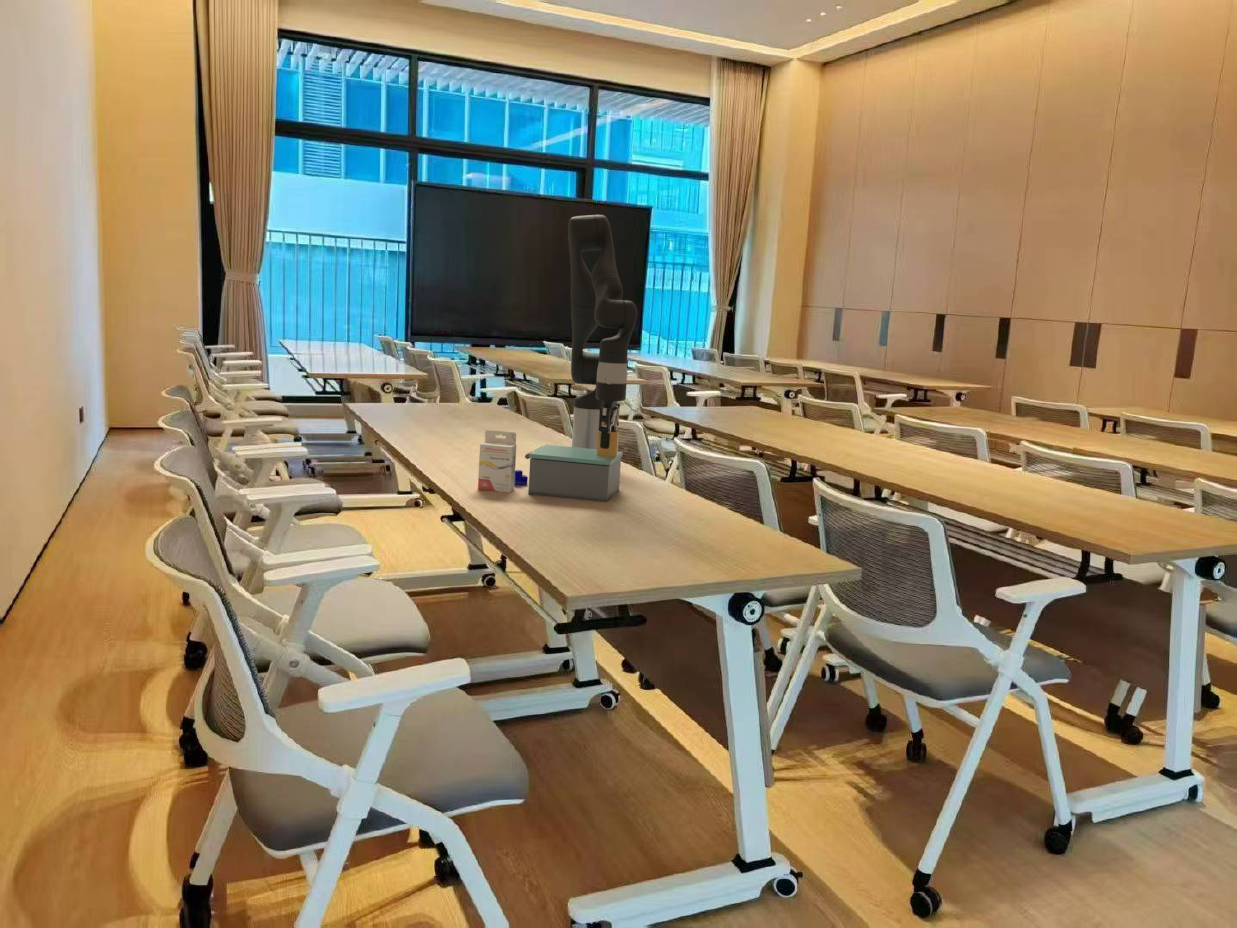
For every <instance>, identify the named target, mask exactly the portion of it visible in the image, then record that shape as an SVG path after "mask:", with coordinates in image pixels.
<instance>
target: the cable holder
mask: <svg viewBox="0 0 1237 928" xmlns="http://www.w3.org/2000/svg"><path fill="white" fill-rule="evenodd" d="M523 474H524V473H523V470H521V469H519V470H518V469H515V481H514V487H515V486H517V485H518V486H528V481H529V476H527V475H525V474H524V475H523ZM518 486H517V487H518Z"/></svg>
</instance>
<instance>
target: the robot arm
mask: <svg viewBox="0 0 1237 928" xmlns="http://www.w3.org/2000/svg"><path fill="white" fill-rule="evenodd" d="M567 234H568V235H567V237H568V249H569V250H568V251H569V262H570V315H571V316H570V317H571V332H572V333H571V341H572V342H571V361H570V362H571V363H570V373H571V375H570V376H571V379H572V382H574V383H576V384H581V385H592V386H595V388H594V389H593V390H592V391H590V392H588V393H585V394H582V395H577V396H576V397H575V398H574V403H573V419H572V423H573V424H572V437H571V438H572V439H571V440H572V441H571V447H577V448H587V449H597V444H598V431H600V433H601V440H600V447H601V448H604V449H608V448H609V444H610V432H617V431H616V430H618V426H619V425H620V423H619V421H620V408H621V404H620V403H619V402H623V401H625V400H626V397H627V381H628V353H629V352H628V351H629V344H630V340H631V339H632V338H631V337H632V334H633V331H634V328H635V326H636V323H637V320H638V308H637V306H636V304H635V303H634V302H633V301H631V300H624V299H623V296H624V289H623V285H622V281H621V278H620V276H619V273H618V268H617V262H616V254H615V252H616V251H615V248H614V240H613V233H612V228H611V224H610V221H609V220H608V218H607V216H606V215H604V214H591V215H590V214H589V215H576V216H573V217H570V219H569V220H568V225H567ZM591 251H592V252H594V251H601V252H600V255H599V257H598V258H597V259H596V262H595V264H594V265H593V268H592V271H590V270H589V268H588V267H587V265H586V262H585V261H584V259H583V253H584V252H591ZM598 326H599V327H600V328H603V329H604V328H605V329H618V332H617V334H616V335H614V336H612V337H606V338H603V339H601V340H600V342H599V343H600V344H599V351H598V352H599V353H597V352H596V353H595V352H584V347H585V345H586V344H587V342H588V340H589V338H590V336H591V335H592V334H593V333H594V332H595V331H596V329H597V327H598Z"/></svg>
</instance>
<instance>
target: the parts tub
mask: <svg viewBox="0 0 1237 928" xmlns="http://www.w3.org/2000/svg"><path fill="white" fill-rule="evenodd" d="M621 464H622V456H621V457H620V458H619V459H618V460H616V461H615V462H614V463H613V464H611V465H600V464H589V463H579V462H568V461H558V460H547V459H537V458H529V473H528V474H529V476H528V495H533V496H541V497H550V498H551V497H552V498H560V499H561V498H562V499H572V500H584V501H593V502H603V503H607V502H609V500H611V498H613V497H614V496H615V494H616V493H618V492H619V490H620V479H621Z"/></svg>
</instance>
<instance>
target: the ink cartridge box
mask: <svg viewBox="0 0 1237 928" xmlns="http://www.w3.org/2000/svg"><path fill="white" fill-rule="evenodd" d="M500 435H501V436H502V437H496V436H500ZM484 437H485V438H484V442H482V443H480V444H479V460H478V477H477V478H478V479H477V490H479V491H480V490H481V491H489V492H490V491H491V492H500V493H512V491H514V490H515V485H514V481H515V470H516V463H517V462H516V460H517V459H516V457H517V433H516V432H514V431H513V432H512V431H511V432H510V431H503V430H502V431H501V430H489V429H487V430H485V432H484ZM504 437H505V438H504Z"/></svg>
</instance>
